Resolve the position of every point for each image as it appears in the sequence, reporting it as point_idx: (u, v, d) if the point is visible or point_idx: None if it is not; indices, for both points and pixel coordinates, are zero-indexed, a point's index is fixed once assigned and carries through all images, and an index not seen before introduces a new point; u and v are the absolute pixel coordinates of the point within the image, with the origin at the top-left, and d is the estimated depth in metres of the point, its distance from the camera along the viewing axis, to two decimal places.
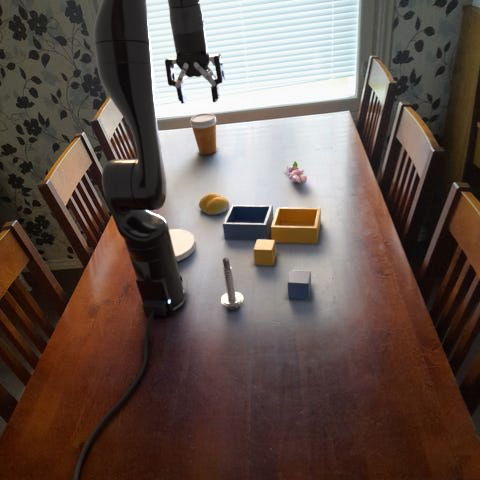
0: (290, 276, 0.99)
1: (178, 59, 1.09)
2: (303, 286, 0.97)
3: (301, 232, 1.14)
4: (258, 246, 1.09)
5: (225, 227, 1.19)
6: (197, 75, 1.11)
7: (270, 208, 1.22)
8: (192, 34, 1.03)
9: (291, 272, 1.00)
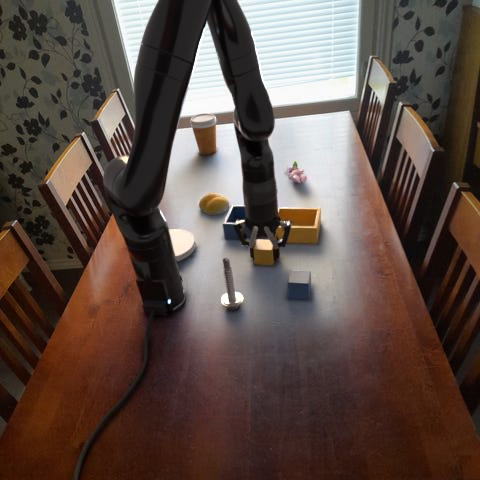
0: (290, 276, 0.99)
1: (247, 221, 1.04)
2: (303, 286, 0.97)
3: (301, 232, 1.14)
4: (258, 246, 1.09)
5: (225, 227, 1.19)
6: (266, 235, 1.06)
7: None
8: (266, 205, 0.98)
9: (291, 272, 1.00)
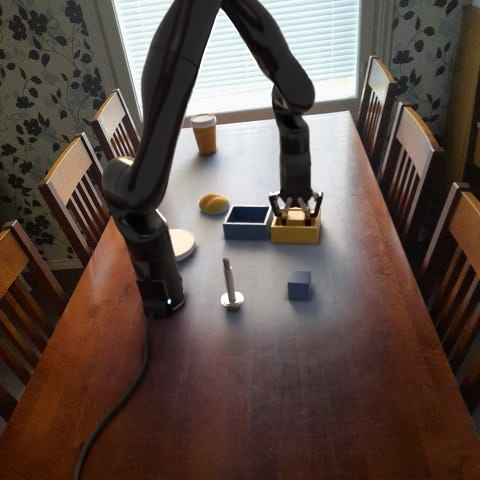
0: (290, 276, 0.99)
1: (282, 193, 1.12)
2: (303, 286, 0.97)
3: (301, 232, 1.14)
4: (291, 216, 1.16)
5: (225, 227, 1.19)
6: (299, 206, 1.14)
7: (270, 208, 1.22)
8: (301, 176, 1.06)
9: (291, 272, 1.00)
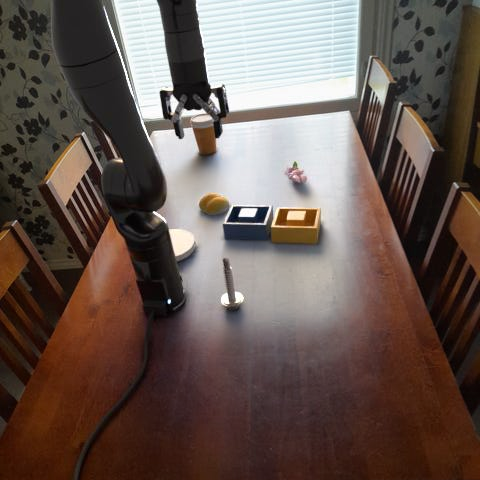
0: (240, 212, 1.21)
1: (175, 90, 0.94)
2: (250, 219, 1.19)
3: (301, 232, 1.14)
4: (291, 216, 1.16)
5: (225, 227, 1.19)
6: (197, 108, 0.96)
7: (270, 208, 1.22)
8: (191, 63, 0.88)
9: (242, 209, 1.22)
